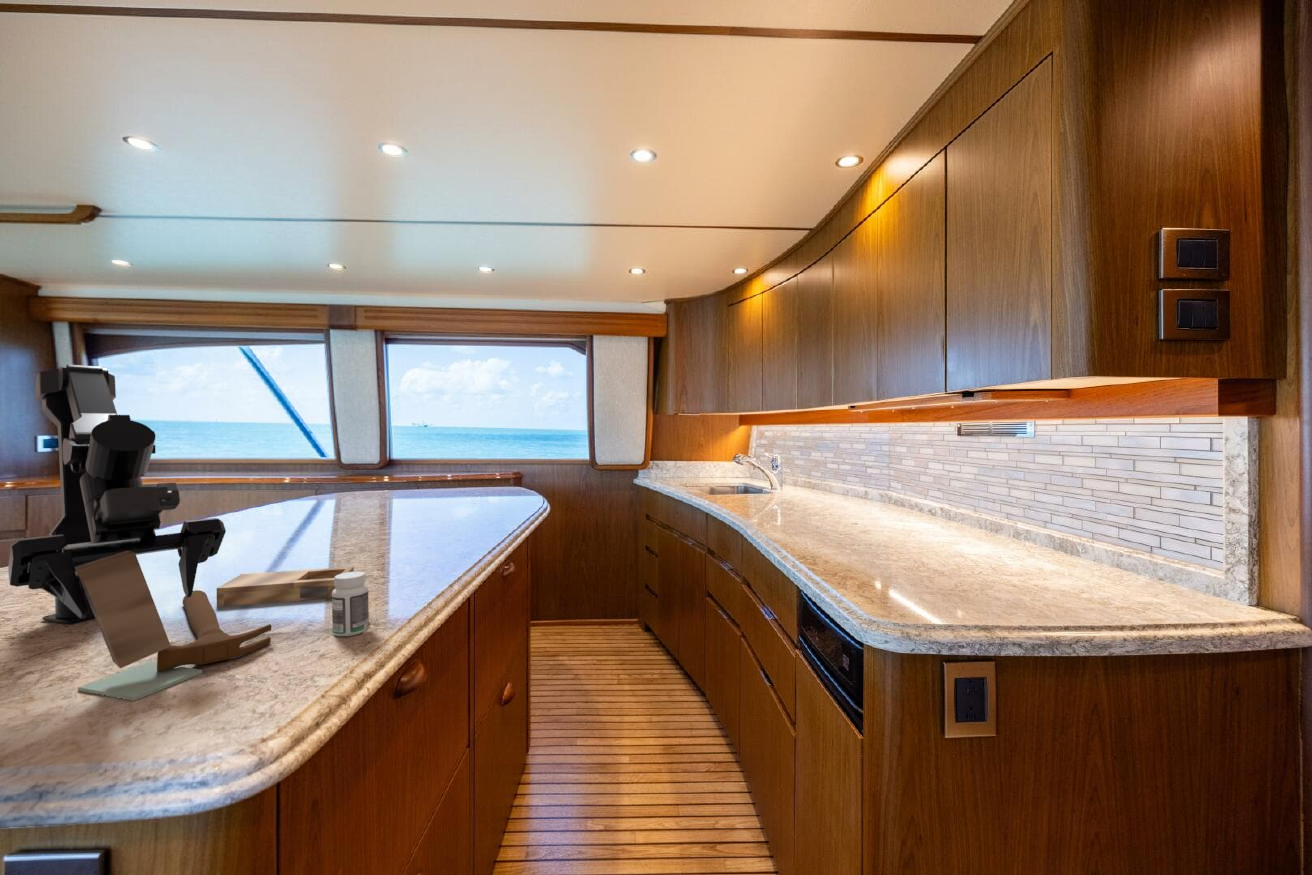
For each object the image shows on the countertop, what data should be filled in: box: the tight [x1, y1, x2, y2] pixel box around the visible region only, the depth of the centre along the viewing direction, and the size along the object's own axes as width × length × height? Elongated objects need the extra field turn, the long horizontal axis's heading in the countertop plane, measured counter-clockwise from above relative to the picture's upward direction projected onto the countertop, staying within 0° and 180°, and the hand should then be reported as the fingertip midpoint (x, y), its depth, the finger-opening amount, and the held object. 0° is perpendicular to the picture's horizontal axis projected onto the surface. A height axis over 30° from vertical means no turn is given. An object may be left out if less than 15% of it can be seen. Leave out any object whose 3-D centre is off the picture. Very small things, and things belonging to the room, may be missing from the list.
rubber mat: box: [77, 661, 203, 702], centre depth 64 cm, size 9×7×1 cm
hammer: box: [156, 589, 272, 672], centre depth 79 cm, size 12×3×30 cm
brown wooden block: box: [75, 551, 172, 669], centre depth 63 cm, size 4×4×12 cm
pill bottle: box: [331, 571, 370, 637], centre depth 79 cm, size 5×5×8 cm
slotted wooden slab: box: [216, 566, 355, 608], centre depth 94 cm, size 18×9×4 cm, turn 107°
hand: (139, 605), depth 64 cm, fingers open, 9 cm apart
